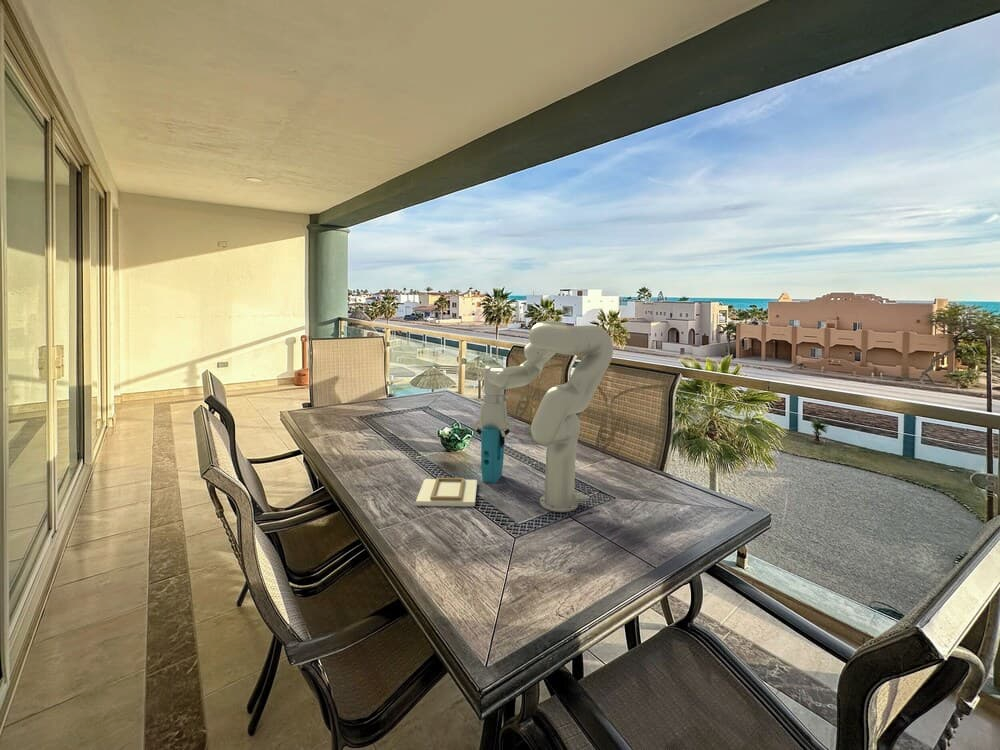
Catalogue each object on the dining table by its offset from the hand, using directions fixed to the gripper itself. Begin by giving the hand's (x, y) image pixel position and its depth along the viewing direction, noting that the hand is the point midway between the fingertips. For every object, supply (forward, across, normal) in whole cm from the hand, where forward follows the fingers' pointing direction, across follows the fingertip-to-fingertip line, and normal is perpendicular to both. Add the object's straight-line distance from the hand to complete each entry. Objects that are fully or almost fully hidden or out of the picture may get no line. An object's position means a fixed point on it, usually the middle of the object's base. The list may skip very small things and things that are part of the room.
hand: (492, 446), depth 171 cm
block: (+13, 0, 0) cm, 13 cm away
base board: (+13, +15, +15) cm, 25 cm away
